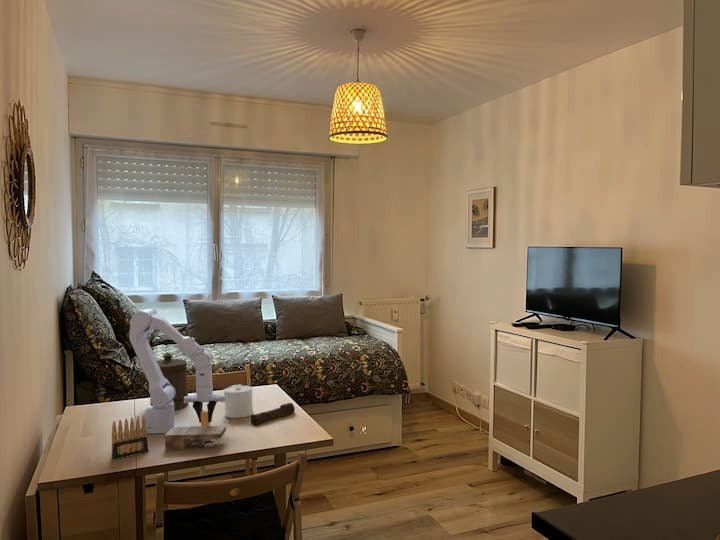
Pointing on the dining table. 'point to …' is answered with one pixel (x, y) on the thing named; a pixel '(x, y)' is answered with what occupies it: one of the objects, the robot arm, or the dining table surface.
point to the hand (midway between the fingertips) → (205, 421)
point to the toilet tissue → (238, 401)
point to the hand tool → (273, 413)
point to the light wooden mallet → (204, 418)
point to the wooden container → (175, 378)
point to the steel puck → (210, 442)
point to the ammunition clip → (129, 439)
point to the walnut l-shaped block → (191, 435)
